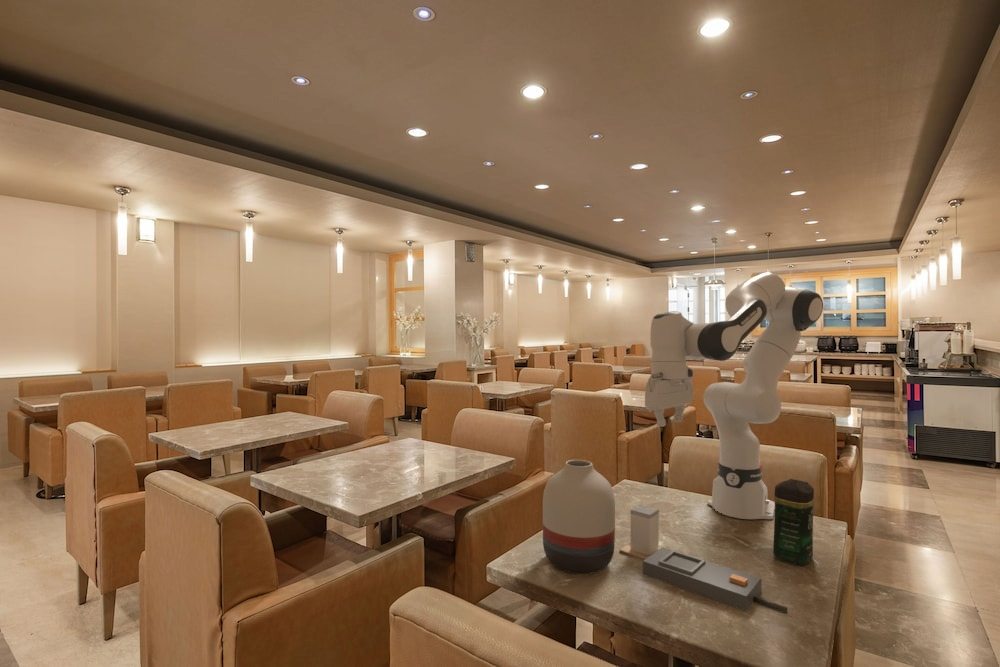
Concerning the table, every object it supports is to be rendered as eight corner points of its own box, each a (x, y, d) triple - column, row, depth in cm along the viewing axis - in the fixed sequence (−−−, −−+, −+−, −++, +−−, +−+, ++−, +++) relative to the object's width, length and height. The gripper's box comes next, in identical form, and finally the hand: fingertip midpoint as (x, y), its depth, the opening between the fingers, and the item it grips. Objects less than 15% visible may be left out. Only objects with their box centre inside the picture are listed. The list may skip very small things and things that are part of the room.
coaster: (636, 541, 132) (636, 538, 132) (669, 551, 126) (669, 549, 126) (619, 552, 125) (619, 549, 125) (653, 563, 119) (653, 561, 119)
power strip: (661, 559, 121) (662, 543, 121) (793, 602, 103) (793, 584, 103) (642, 574, 114) (642, 557, 114) (780, 623, 95) (780, 603, 95)
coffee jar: (806, 570, 117) (807, 490, 116) (769, 558, 122) (770, 482, 122) (817, 556, 124) (817, 481, 123) (781, 546, 129) (782, 474, 129)
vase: (599, 587, 108) (600, 477, 108) (530, 567, 117) (530, 465, 117) (624, 557, 123) (624, 460, 123) (560, 541, 132) (561, 451, 131)
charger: (639, 543, 129) (640, 504, 129) (658, 549, 126) (658, 509, 126) (630, 549, 125) (630, 509, 125) (649, 555, 122) (649, 514, 122)
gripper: (660, 374, 125) (662, 430, 125) (696, 370, 140) (698, 420, 139) (637, 373, 130) (639, 427, 129) (674, 370, 144) (676, 418, 144)
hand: (670, 424), depth 134 cm, fingers open, 8 cm apart
